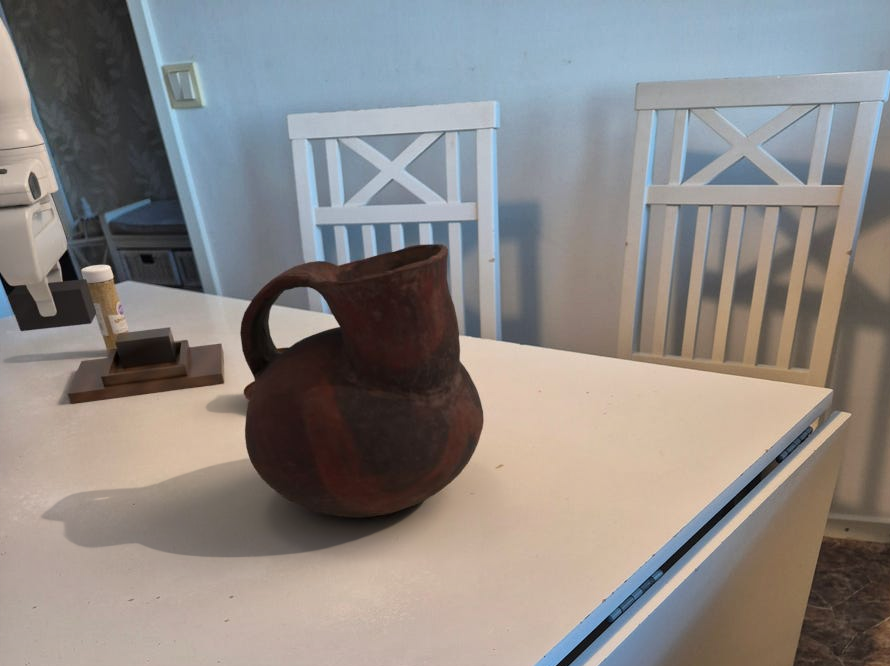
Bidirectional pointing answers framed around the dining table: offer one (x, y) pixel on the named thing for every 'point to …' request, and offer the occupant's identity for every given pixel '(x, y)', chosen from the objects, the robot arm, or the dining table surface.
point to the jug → (363, 388)
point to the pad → (69, 301)
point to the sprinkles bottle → (105, 303)
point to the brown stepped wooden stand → (147, 367)
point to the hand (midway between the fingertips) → (54, 308)
